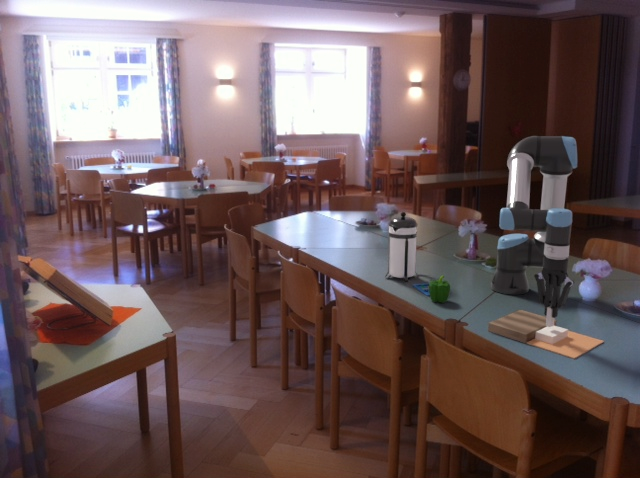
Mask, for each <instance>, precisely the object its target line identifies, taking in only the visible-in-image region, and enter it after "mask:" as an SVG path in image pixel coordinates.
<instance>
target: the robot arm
mask: <svg viewBox="0 0 640 478" xmlns="http://www.w3.org/2000/svg"><path fill="white" fill-rule="evenodd" d="M576 140H577V139H576V138H574V137H573V136H564V135H560V136H559V135H558V136H557V135H555V136H554V135H552V136H551V135H550V136H549V135H547V136H545V135H544V136H543V135H542V136H540V135H539V136H538V135H532V136H528V137H525V138H522V140H520V141H518V142H517V143H516V144H515V145H513V147H512V148H511V150H510V152H509V154H508V155H507V156H508V157H507V159H506V160H507V161H506V166H507V167H508V171H509V172H508V182H507V183H508V185H507V197H506V207H502V208H501V209H500V211H499V225H498V226H499V229H501V230H505V231H511V232H513V231H518V232H519V231H520V232H521V231H522V232H536V233H535V234H534V235H533V238H530V237H529V235H528V234H525V233H509V234H504V235H502V236H500V237H499V238H498V241H497V247H496V248H497V253H496V254H497V257H496V270H495V272H494V275H493V277H492V280H491V282H490V289H491V290H492V291H494V292H496V293H500V294H503V295H504V294H505V295H514V296H515V295H524V294H527V293H529V289H530V285H529V280H528V277H527V274H526V272H527V271H526V269H527V268H528V267H529V268H537V269H538V268H539V269H540V268H541V272H538V273H536V274H534V275H533V277H534V279H535V281H536V286H537V287H536V288H537V293H538V299H539V301H538V302H539V304H541V305H544V311H543V313H544V316H545V317H546V326H547V327H552V326H554V320H556V319H555V318H557V317H558V311H559V309H561V308H563V307H565V305H566V302H567V299H568V297H569V294H570V291H571V288H572V287H573V285H575V280H571V279H570V278H569V275H568V267H569V256H570V245H571V243H570V242H571V240H570V239H571V236H572V235H571V232H572V226H573V225H572V223H573V211H572V210H570V209H567V208H565V201H566V195H567V194H566V193H567V183H568V177H569V176H570V175H571V174H572V173H573V170H574V169H576V168H578V147H577V146H578V145H577V141H576ZM537 167H538V168H539V172H540V173H541V174H542V176H543V178H542V188H541V201H540V209H536V208H535V209H532V208H530V197H531V196H530V193H531V177H532V176H531V172H532V170H533V168H537ZM563 283H564V286H563V288H562V285H563ZM561 288H562V292H561Z"/></svg>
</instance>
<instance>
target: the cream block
mask: <svg viewBox="0 0 640 478" xmlns="http://www.w3.org/2000/svg"><path fill="white" fill-rule="evenodd" d="M568 331H569V329H568V328H564V327H562V326H561V327H560V326H557V325H556V326H552V327H545V328H543V329H541V330H539V331H537V332H536V335H535V339H537V340H540V341H543V342H546V343H549V344H554V343H556V342H558V341H560V340H562V339H564V338H566V337H568Z"/></svg>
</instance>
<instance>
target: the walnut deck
mask: <svg viewBox="0 0 640 478" xmlns="http://www.w3.org/2000/svg"><path fill="white" fill-rule="evenodd" d="M546 317H547V316H545V315H540V314H538V313H537V314H536V313H534V312H530V311H525V310H522V309H519V310H517V311H516V310H515V311H514V312H512V313H509V314H507V315H504V316H502V317H500V318H496V319H495V320H492V321H490V322H488V329H487V331H488V332H490V333H493V334H495V335H498V336H499V335H500V336H501V337H505V338H508V339H512V340H515V341H518V342H520V343H523V344H527V342H529V341H531V340H533V339H535V335H536V332H537V331H539V330H541V329H543V328H545V327H547V326H546ZM557 323H558V320H557V319H555V320H554V326H557Z"/></svg>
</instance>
